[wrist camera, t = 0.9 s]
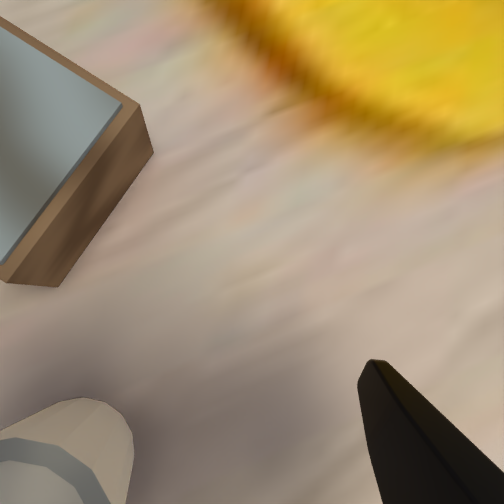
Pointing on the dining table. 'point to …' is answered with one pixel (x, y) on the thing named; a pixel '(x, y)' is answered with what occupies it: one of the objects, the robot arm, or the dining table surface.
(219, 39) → the dining table surface
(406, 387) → the robot arm
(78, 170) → the walnut plinth
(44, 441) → the shot glass
